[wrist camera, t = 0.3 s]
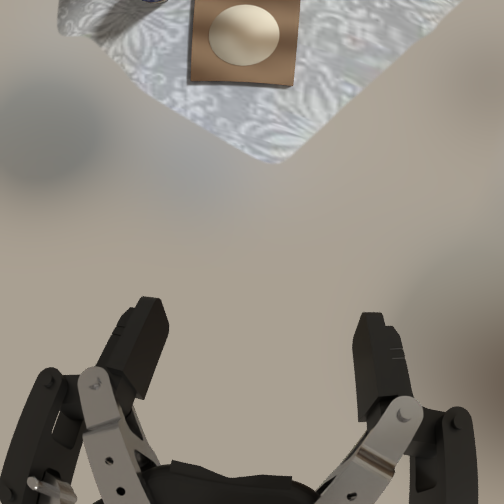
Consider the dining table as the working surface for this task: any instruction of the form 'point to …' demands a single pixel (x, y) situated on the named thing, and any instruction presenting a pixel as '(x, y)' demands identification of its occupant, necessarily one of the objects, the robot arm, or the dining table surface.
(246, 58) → the rest board
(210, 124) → the dining table surface
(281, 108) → the dining table surface
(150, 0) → the pill bottle
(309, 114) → the dining table surface
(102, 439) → the robot arm
